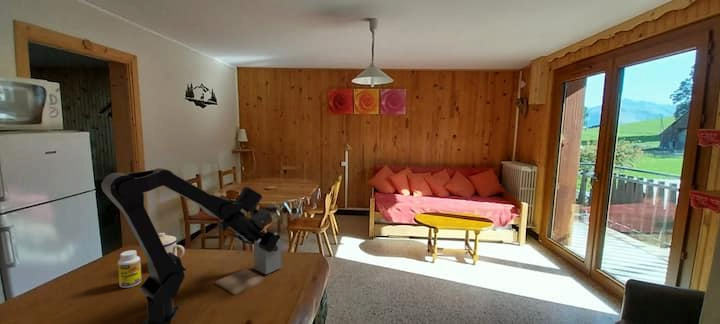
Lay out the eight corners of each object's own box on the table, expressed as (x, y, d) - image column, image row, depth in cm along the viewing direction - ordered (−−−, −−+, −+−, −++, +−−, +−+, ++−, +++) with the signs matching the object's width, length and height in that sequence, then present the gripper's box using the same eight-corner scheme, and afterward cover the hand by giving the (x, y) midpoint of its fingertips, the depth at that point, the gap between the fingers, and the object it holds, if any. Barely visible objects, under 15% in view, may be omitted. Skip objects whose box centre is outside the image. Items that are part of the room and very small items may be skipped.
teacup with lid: (141, 271, 103) (139, 238, 102) (158, 259, 112) (156, 228, 111) (177, 271, 104) (175, 238, 102) (191, 259, 113) (189, 229, 111)
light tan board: (234, 295, 90) (234, 293, 90) (215, 283, 96) (214, 281, 96) (266, 280, 99) (265, 278, 98) (246, 270, 105) (245, 268, 105)
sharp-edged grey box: (266, 274, 101) (265, 245, 100) (254, 268, 105) (253, 241, 104) (281, 267, 106) (281, 240, 105) (269, 262, 110) (269, 235, 109)
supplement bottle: (118, 290, 91) (115, 258, 90) (120, 282, 96) (117, 251, 94) (141, 285, 94) (139, 253, 93) (142, 277, 99) (140, 247, 98)
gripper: (275, 208, 94) (301, 233, 104) (240, 199, 105) (267, 222, 115) (253, 240, 89) (283, 263, 99) (219, 226, 100) (249, 248, 110)
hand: (270, 247), depth 106 cm, fingers closed on sharp-edged grey box, 6 cm apart
